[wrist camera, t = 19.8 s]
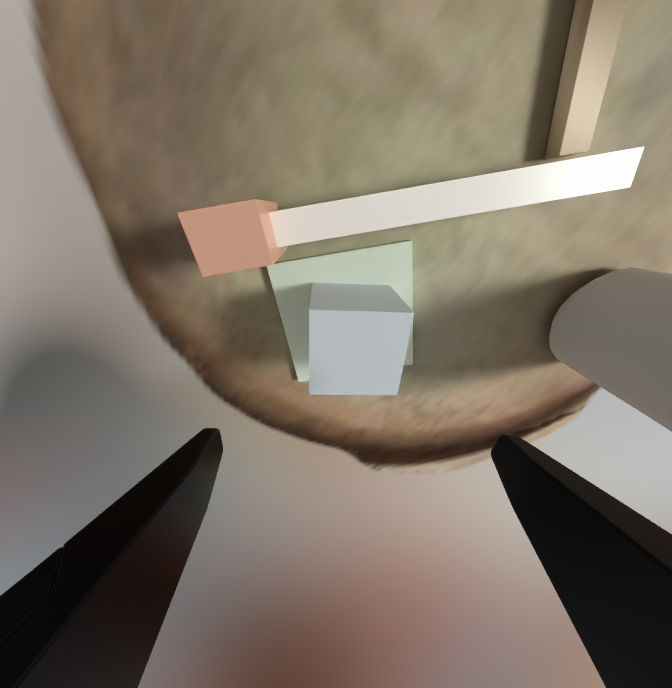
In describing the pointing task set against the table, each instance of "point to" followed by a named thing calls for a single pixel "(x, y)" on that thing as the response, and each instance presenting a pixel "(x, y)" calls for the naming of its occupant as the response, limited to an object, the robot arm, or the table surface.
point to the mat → (340, 267)
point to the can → (621, 338)
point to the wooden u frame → (584, 74)
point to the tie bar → (389, 209)
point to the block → (357, 339)
